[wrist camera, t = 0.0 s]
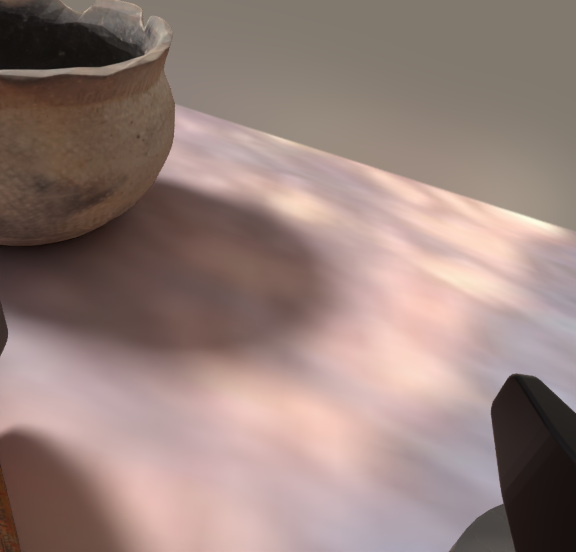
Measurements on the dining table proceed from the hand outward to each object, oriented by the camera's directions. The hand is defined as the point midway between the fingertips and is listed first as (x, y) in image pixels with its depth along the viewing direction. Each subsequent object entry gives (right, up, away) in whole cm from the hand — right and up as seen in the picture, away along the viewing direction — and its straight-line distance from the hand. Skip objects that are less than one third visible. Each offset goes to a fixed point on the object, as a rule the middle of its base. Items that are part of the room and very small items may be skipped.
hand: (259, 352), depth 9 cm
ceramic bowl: (-20, +6, +31) cm, 37 cm away
